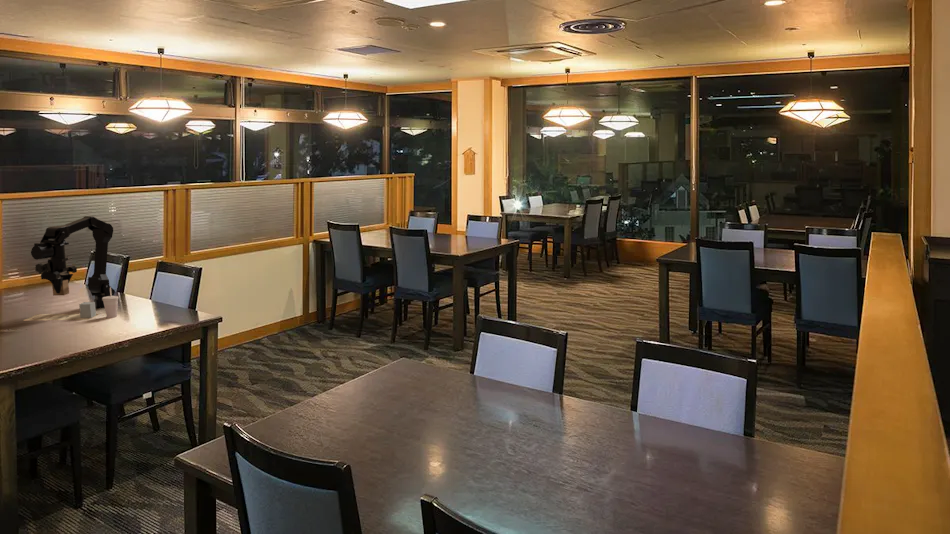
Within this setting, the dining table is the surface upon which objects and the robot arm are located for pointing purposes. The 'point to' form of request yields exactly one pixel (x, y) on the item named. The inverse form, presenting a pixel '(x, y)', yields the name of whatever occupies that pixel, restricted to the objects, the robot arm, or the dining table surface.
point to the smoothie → (110, 305)
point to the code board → (56, 317)
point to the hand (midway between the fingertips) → (61, 292)
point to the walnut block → (62, 288)
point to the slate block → (87, 310)
